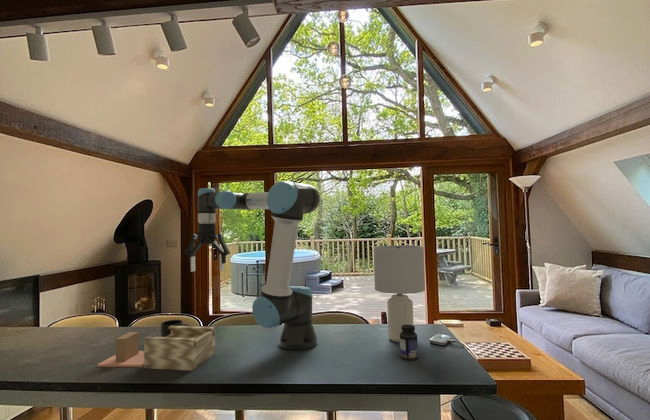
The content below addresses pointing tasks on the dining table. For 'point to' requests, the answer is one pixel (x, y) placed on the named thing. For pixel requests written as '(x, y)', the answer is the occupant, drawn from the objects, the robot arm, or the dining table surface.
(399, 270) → the lamp
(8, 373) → the dining table surface
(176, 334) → the birch box
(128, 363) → the cover plate
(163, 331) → the mug
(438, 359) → the dining table surface
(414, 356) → the pill bottle
